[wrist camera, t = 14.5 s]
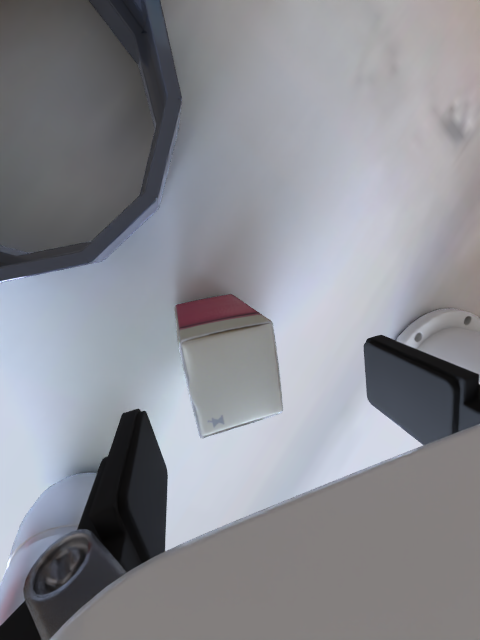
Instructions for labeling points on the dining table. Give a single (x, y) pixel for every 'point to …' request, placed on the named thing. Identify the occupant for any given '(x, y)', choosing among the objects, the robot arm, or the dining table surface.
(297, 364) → the dining table surface
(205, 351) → the small box
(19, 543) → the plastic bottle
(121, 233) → the ring
